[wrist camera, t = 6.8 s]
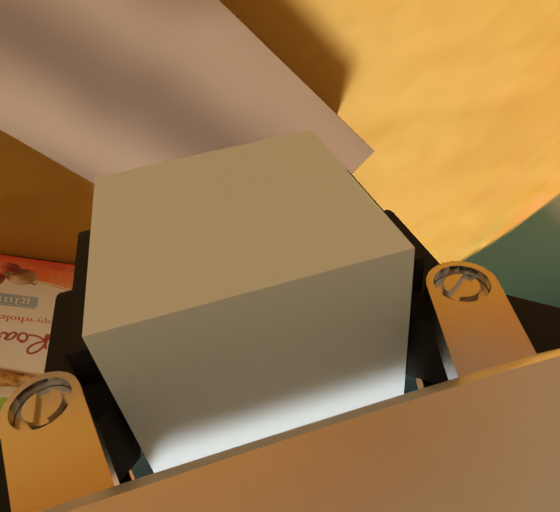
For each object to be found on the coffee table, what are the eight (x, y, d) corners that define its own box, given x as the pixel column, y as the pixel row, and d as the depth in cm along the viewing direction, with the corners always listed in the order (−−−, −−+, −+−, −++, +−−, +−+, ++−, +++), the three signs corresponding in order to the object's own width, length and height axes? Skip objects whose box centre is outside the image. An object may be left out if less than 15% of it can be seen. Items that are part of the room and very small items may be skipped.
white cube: (311, 129, 11) (415, 247, 7) (322, 288, 14) (400, 431, 10) (95, 176, 10) (82, 337, 7) (156, 333, 14) (172, 505, 10)
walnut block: (68, -147, 20) (53, -161, 16) (335, 112, 30) (374, 151, 26) (-45, 44, 23) (-85, 80, 19) (234, 223, 33) (253, 275, 29)
